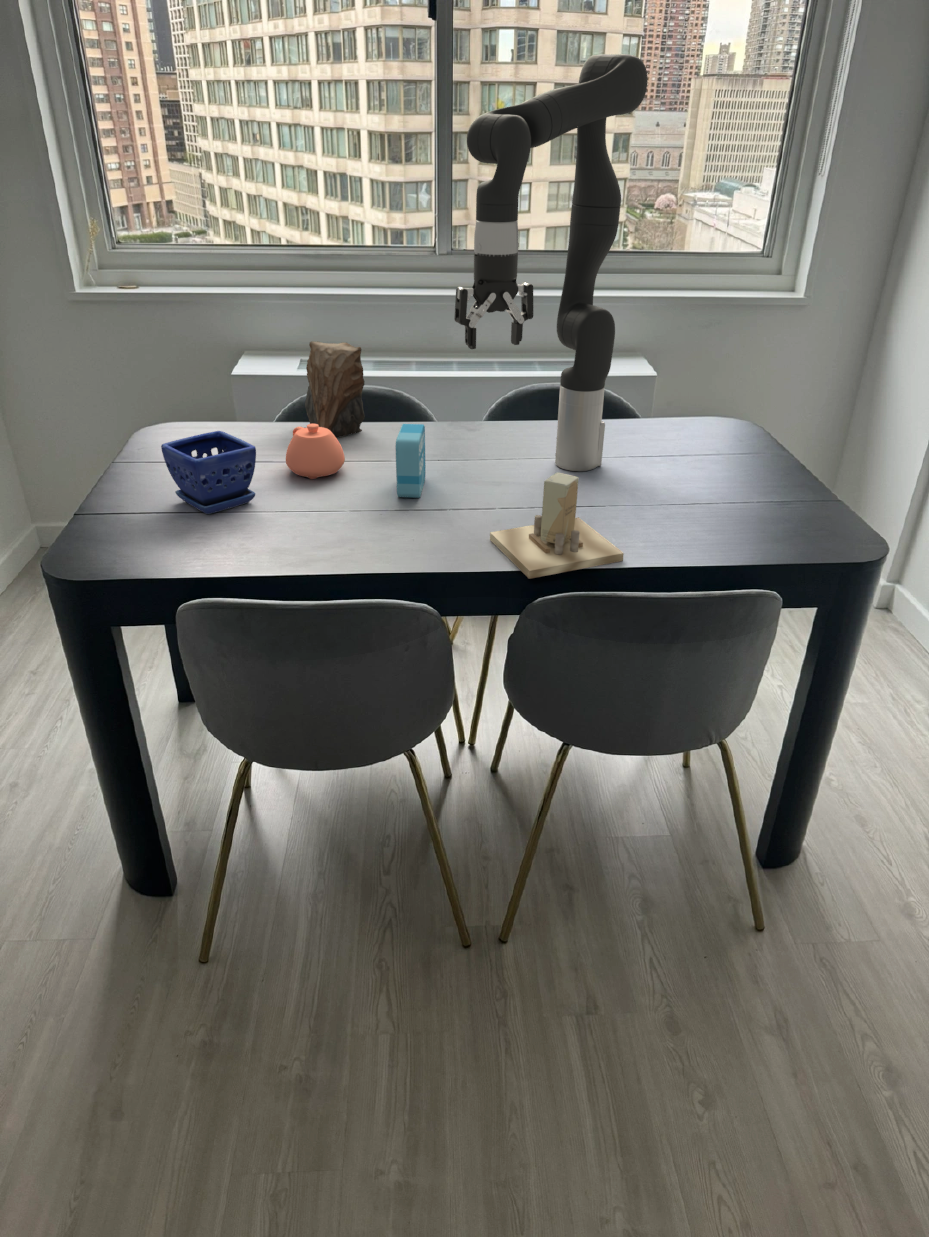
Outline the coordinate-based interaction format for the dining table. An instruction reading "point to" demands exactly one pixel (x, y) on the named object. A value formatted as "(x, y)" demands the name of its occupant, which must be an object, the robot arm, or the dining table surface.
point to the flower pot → (211, 470)
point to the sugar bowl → (314, 452)
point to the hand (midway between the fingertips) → (493, 346)
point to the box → (559, 506)
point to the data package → (410, 460)
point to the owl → (335, 387)
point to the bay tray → (555, 549)
